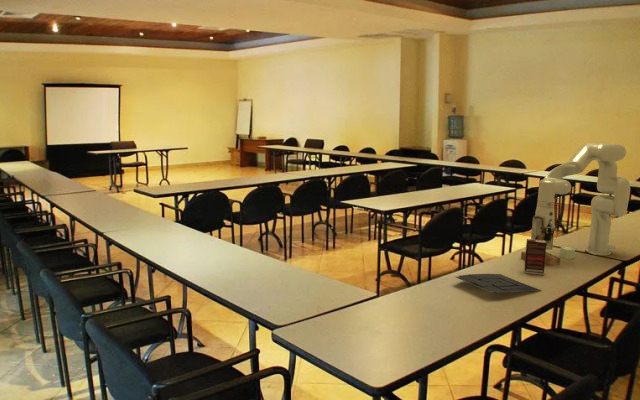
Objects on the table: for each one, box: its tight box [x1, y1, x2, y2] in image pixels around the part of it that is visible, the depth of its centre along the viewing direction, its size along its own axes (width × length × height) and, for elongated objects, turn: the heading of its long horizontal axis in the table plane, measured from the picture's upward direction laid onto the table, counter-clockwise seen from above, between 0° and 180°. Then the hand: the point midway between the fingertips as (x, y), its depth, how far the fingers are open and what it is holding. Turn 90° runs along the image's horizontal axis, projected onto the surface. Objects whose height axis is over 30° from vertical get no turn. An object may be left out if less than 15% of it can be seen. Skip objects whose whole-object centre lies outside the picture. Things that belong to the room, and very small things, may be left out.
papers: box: [455, 273, 542, 294], centre depth 223 cm, size 24×30×4 cm
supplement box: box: [523, 238, 547, 276], centre depth 242 cm, size 9×5×16 cm, turn 71°
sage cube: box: [559, 246, 576, 260], centre depth 268 cm, size 5×5×5 cm
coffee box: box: [530, 215, 556, 251], centre depth 258 cm, size 9×6×16 cm
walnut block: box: [520, 251, 561, 267], centre depth 261 cm, size 13×13×4 cm
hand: (542, 238), depth 259 cm, fingers closed on coffee box, 7 cm apart
